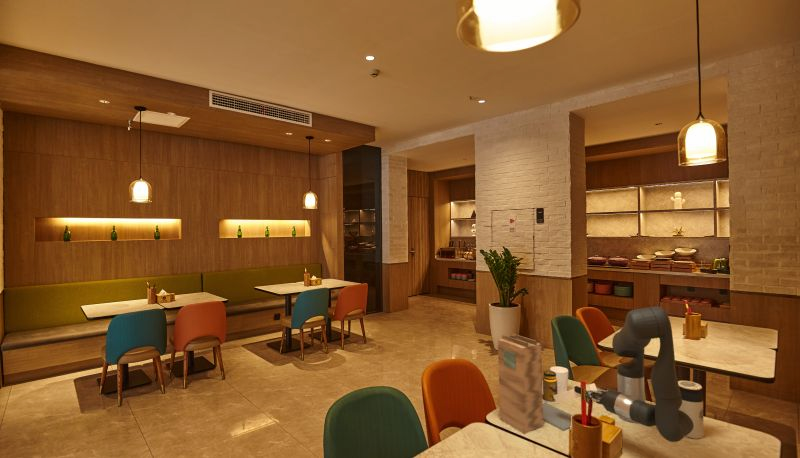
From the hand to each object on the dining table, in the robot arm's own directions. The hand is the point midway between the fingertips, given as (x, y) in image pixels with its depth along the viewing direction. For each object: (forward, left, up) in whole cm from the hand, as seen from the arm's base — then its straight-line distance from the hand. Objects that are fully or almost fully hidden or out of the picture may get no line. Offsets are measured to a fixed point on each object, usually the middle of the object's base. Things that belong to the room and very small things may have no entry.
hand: (578, 387), depth 151 cm
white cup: (-22, -27, -16) cm, 39 cm away
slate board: (0, -12, -16) cm, 20 cm away
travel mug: (-31, +23, -16) cm, 42 cm away
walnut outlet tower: (+15, -15, -16) cm, 26 cm away
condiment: (-11, -24, -16) cm, 31 cm away
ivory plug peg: (0, -1, -4) cm, 4 cm away
